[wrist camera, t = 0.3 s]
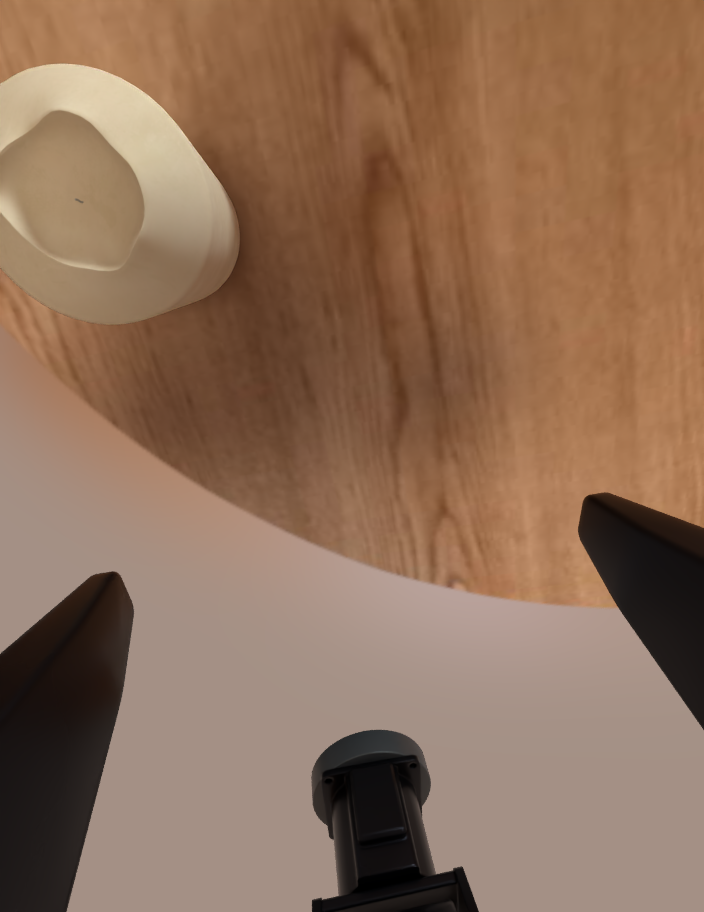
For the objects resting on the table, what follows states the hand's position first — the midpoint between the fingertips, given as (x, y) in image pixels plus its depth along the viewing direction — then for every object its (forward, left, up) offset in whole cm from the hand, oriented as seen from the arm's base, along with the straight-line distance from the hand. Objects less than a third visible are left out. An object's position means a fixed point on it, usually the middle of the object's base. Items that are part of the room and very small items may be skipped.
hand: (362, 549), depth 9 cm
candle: (+7, +5, -14) cm, 17 cm away
